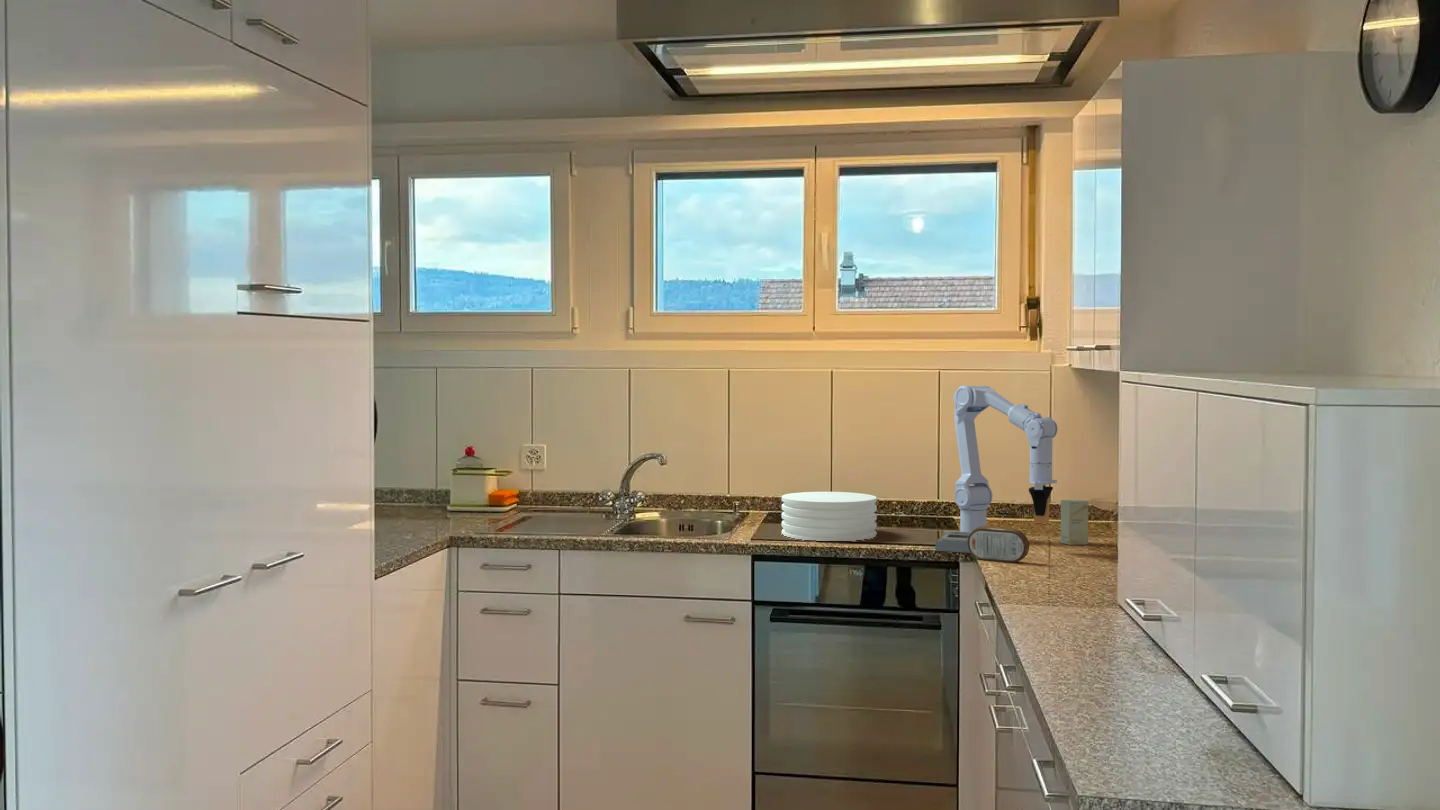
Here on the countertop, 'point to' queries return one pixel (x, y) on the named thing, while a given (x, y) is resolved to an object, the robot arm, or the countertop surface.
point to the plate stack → (829, 516)
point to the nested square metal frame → (953, 541)
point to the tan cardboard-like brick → (1043, 518)
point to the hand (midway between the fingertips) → (1040, 514)
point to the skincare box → (1074, 522)
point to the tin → (998, 544)
